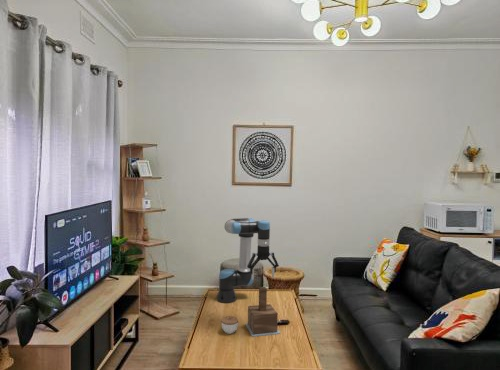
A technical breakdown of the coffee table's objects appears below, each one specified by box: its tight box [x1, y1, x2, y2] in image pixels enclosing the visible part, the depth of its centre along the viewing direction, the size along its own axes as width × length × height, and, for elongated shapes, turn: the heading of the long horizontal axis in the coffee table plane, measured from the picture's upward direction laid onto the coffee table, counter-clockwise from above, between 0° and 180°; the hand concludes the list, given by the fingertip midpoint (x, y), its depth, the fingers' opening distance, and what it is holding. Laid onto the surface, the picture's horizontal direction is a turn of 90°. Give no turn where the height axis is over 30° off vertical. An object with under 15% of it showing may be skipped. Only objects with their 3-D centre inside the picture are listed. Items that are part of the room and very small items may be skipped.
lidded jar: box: [220, 315, 239, 334], centre depth 224 cm, size 11×11×9 cm
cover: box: [247, 286, 279, 335], centre depth 228 cm, size 15×15×26 cm
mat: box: [244, 322, 281, 338], centre depth 229 cm, size 18×18×1 cm
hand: (262, 278), depth 228 cm, fingers open, 13 cm apart
